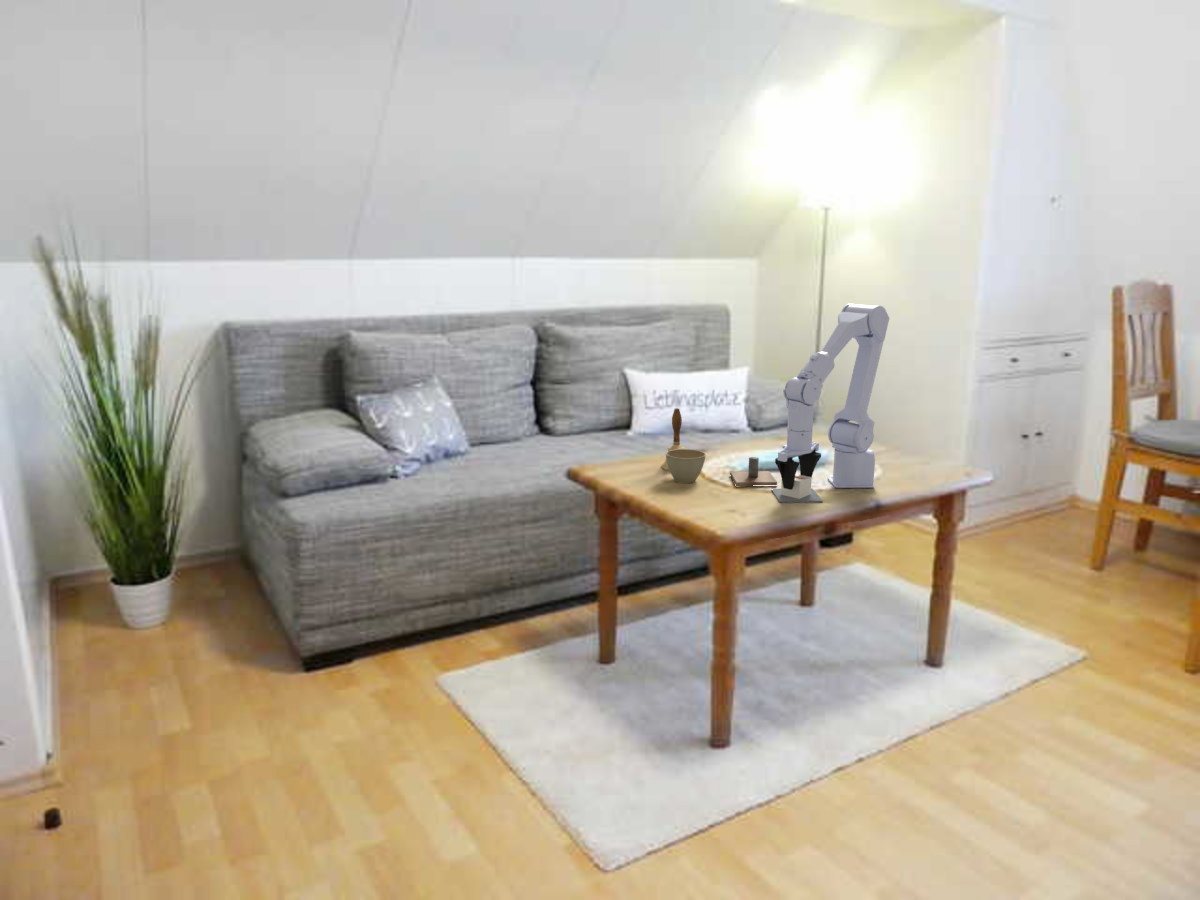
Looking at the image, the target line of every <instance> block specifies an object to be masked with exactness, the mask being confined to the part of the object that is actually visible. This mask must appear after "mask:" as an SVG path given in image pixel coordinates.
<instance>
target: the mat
mask: <svg viewBox="0 0 1200 900" xmlns="http://www.w3.org/2000/svg"><path fill="white" fill-rule="evenodd" d="M772 489H773V490H772V491H773V492H772V491H771V492H772V494H773V493H774V494H773V495H774V497H775V496H776V497H775V498H776V500H777V502H778V503H781V504H783V503H785V504H791V503H792V504H793V503H794V504H795V503H796V504H797V503H798V504H800V503H803V504H805V503H809V504H810V503H811V504H813V503H823V502H824V500H823V499H822V498H821V497H820V495H818V493H817V492H816V491H815V490H814V488H813V487H811V494H810V495H808V496H805V497H803V498H800V499H798V498H793V497H789V496H785V495H781V488H772Z"/></svg>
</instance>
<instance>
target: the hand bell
mask: <svg viewBox="0 0 1200 900" xmlns="http://www.w3.org/2000/svg"><path fill="white" fill-rule="evenodd" d="M682 423H683V422H682V414H681V411H680V408H674V409H673V413H672V416H671V426H672V430H673V443H672V445H670V446H669V447H668V448H667V451H670V450H676V449H686V448H685V447H684V446H683V445H681V443H680V441H681V440H680V438H681V437H680V431H681V429H682ZM660 468H661V469H663V470H665V471H669V472H670V470H669V467H668V464H667V460H666V459H665V460H664V462H663V463H662V464H661V466H660Z"/></svg>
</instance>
